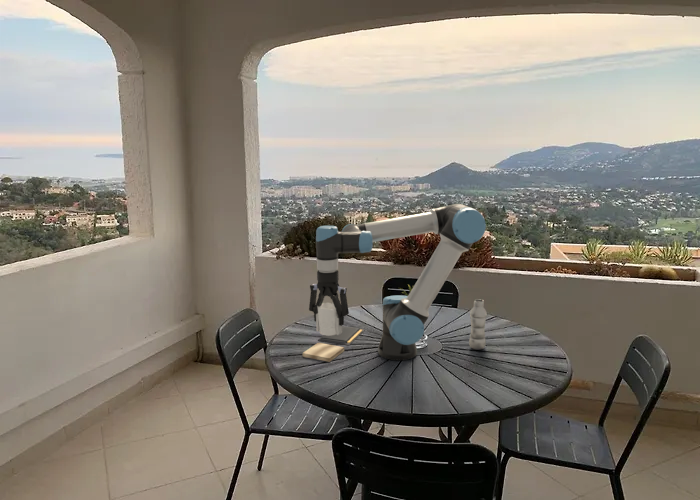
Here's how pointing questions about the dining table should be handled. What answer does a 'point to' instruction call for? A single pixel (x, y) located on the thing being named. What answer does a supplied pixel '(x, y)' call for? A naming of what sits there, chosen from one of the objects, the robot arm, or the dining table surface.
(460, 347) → the dining table surface
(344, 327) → the black book
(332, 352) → the oak coaster board
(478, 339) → the plastic bottle
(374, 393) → the dining table surface
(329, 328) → the white cup
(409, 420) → the dining table surface
